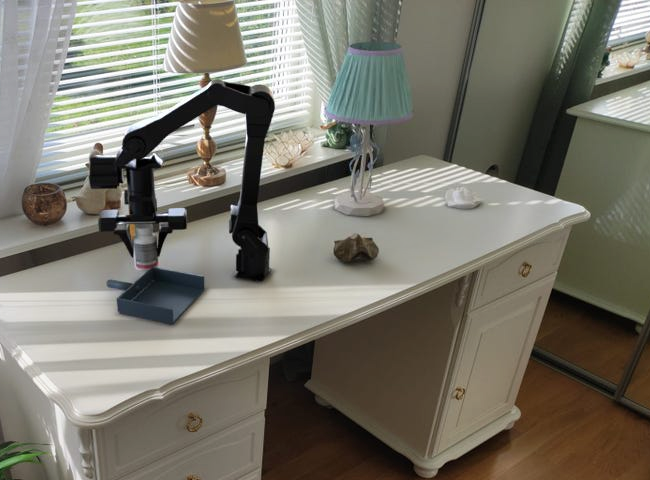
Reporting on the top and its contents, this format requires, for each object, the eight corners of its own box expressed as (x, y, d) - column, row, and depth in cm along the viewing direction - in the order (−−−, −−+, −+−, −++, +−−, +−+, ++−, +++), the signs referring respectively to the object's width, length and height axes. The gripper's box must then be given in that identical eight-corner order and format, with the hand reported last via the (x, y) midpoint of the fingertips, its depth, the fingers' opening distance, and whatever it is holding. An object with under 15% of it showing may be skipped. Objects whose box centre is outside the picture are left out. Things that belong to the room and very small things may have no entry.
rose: (441, 180, 194) (478, 180, 194) (439, 196, 196) (474, 196, 196) (452, 193, 186) (490, 193, 185) (449, 210, 188) (487, 209, 188)
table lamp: (339, 188, 204) (352, 36, 182) (412, 202, 193) (436, 42, 171) (303, 212, 189) (312, 49, 168) (380, 229, 179) (401, 58, 157)
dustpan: (204, 290, 153) (204, 276, 151) (172, 324, 141) (171, 309, 139) (125, 275, 160) (124, 261, 158) (88, 307, 148) (86, 292, 146)
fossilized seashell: (377, 241, 166) (334, 245, 168) (377, 224, 160) (331, 229, 163) (380, 268, 163) (335, 272, 165) (379, 251, 157) (333, 256, 159)
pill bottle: (163, 267, 159) (160, 226, 153) (142, 274, 156) (139, 232, 151) (150, 259, 162) (148, 218, 157) (129, 265, 160) (126, 224, 155)
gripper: (186, 174, 156) (188, 240, 164) (100, 176, 156) (107, 242, 165) (185, 191, 147) (187, 261, 155) (94, 194, 147) (102, 263, 155)
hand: (145, 256), depth 158 cm, fingers closed on pill bottle, 5 cm apart
